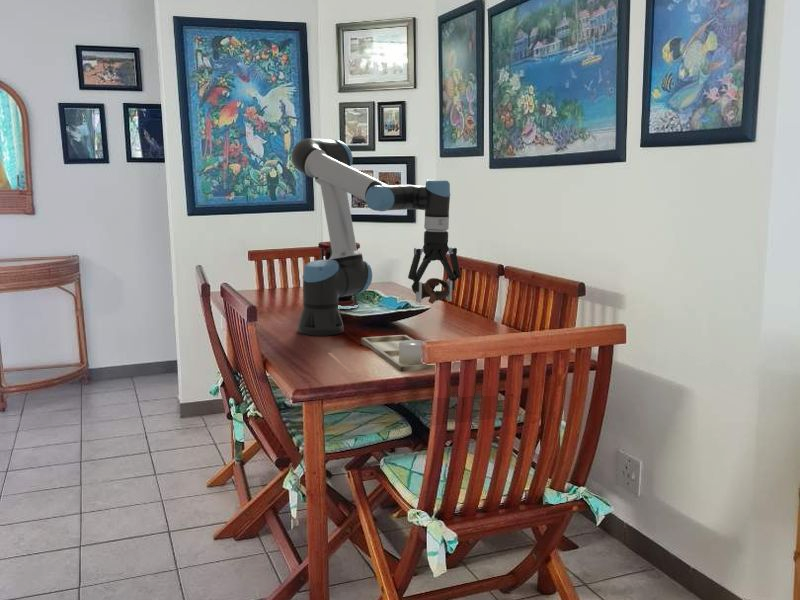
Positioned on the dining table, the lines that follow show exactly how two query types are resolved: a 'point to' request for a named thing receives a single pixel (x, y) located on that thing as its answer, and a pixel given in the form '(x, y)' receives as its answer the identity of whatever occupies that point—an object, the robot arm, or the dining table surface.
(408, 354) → the grey short cylinder
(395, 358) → the tray
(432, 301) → the dark brown looped part
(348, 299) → the hourglass
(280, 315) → the dining table surface
